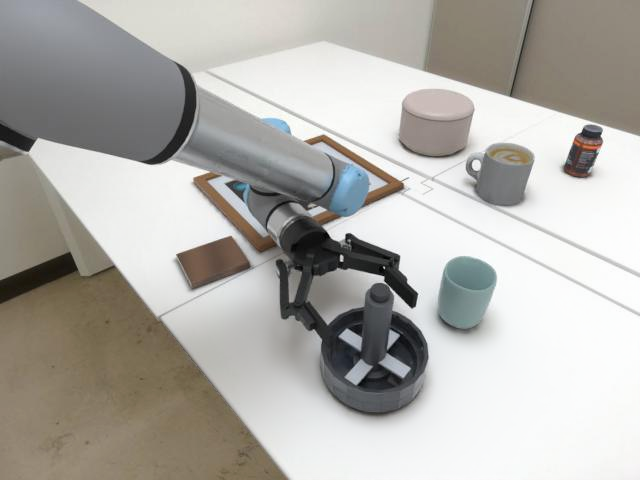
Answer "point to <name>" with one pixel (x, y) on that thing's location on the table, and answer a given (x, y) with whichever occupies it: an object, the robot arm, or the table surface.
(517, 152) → the coffee mug
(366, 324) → the blade
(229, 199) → the wall art
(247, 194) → the robot arm
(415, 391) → the processor bowl
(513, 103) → the table surface
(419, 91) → the container
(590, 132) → the supplement bottle
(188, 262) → the board
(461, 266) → the cup
